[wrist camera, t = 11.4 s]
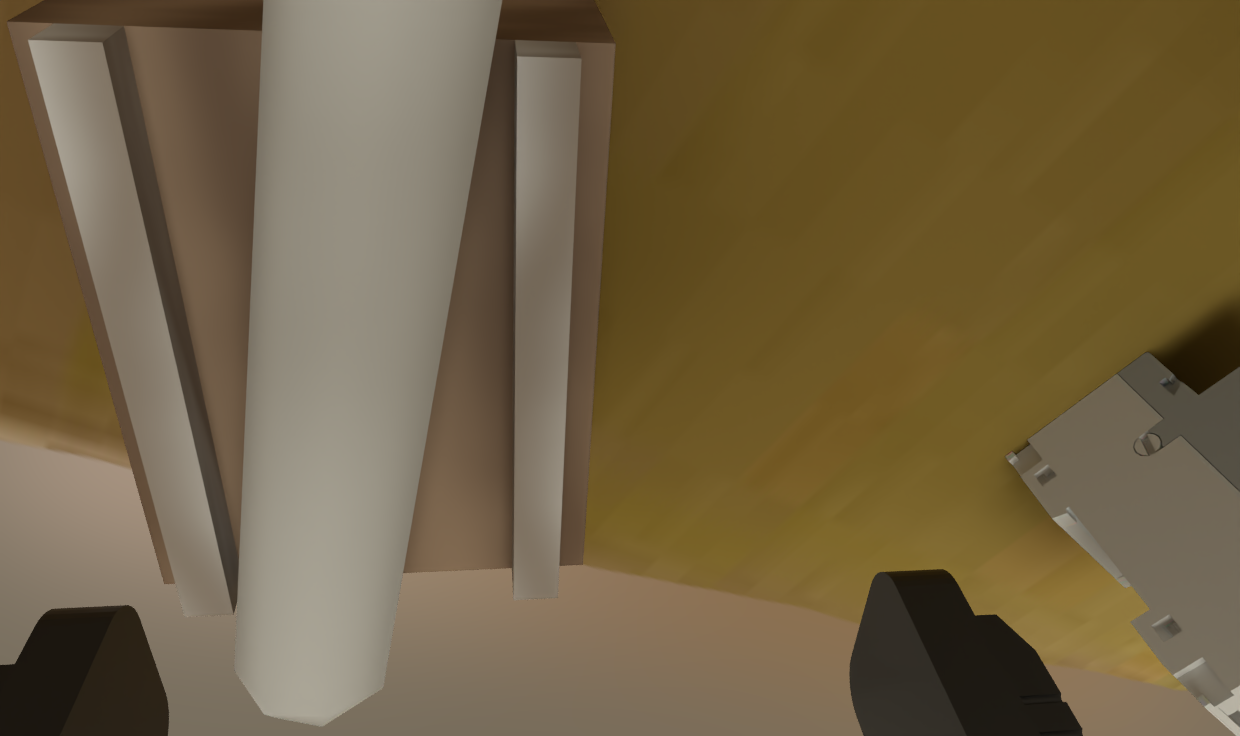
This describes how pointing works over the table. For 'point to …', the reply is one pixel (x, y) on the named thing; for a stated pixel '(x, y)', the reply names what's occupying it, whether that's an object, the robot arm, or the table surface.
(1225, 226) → the table surface
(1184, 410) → the circuit breaker
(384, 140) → the tube
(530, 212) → the stand
